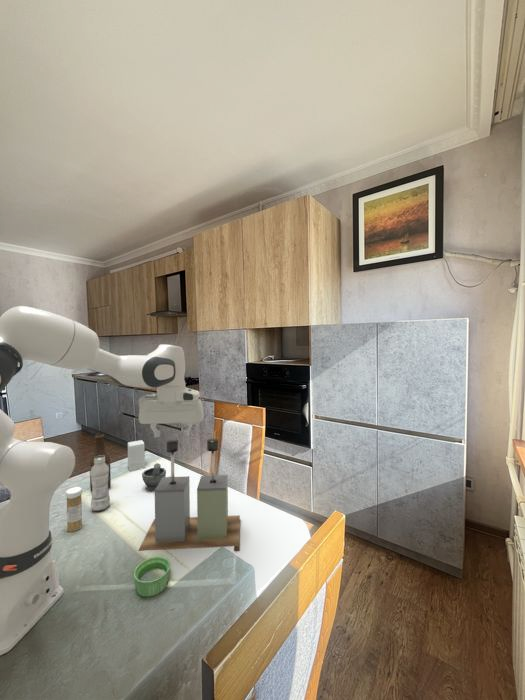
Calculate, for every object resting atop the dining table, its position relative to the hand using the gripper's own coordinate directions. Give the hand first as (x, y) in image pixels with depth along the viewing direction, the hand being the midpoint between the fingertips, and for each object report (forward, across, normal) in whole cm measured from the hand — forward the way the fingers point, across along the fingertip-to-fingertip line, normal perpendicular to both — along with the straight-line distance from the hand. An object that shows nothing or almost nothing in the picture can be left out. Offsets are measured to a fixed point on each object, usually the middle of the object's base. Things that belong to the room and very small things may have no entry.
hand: (172, 436), depth 96 cm
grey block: (+32, 0, 0) cm, 32 cm away
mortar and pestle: (+34, -16, +34) cm, 50 cm away
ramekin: (+33, -1, -19) cm, 39 cm away
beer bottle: (+33, -39, +34) cm, 61 cm away
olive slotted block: (+32, +13, 0) cm, 34 cm away
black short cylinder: (+22, 0, 0) cm, 22 cm away
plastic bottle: (+33, -32, +19) cm, 50 cm away
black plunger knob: (+22, +13, 0) cm, 25 cm away
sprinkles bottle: (+33, -35, +7) cm, 49 cm away
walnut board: (+33, +6, 0) cm, 34 cm away
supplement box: (+34, -32, +57) cm, 73 cm away
